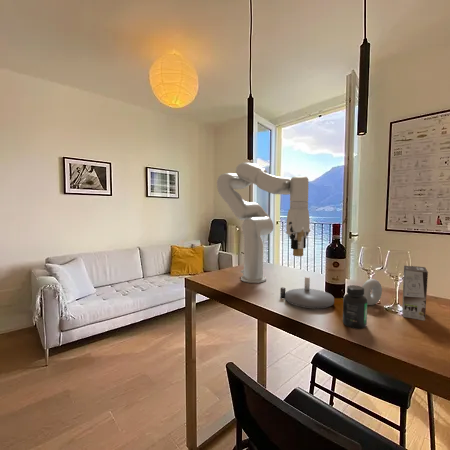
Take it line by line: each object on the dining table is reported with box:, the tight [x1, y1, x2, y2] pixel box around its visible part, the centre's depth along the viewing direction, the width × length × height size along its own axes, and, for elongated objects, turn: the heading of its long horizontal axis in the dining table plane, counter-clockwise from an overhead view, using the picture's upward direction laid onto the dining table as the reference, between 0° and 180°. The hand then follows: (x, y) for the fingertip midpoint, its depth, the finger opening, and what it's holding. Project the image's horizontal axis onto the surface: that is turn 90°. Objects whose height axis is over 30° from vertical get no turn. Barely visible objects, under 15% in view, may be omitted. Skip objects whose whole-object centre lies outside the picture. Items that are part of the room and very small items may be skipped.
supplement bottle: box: [342, 284, 368, 330], centre depth 87 cm, size 7×7×12 cm
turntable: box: [284, 276, 335, 309], centre depth 107 cm, size 20×18×6 cm
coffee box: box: [401, 265, 429, 321], centre depth 94 cm, size 9×6×16 cm
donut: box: [361, 278, 383, 306], centre depth 103 cm, size 10×4×10 cm, turn 117°
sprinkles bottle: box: [292, 227, 305, 257], centre depth 118 cm, size 5×5×14 cm
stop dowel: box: [279, 287, 287, 300], centre depth 112 cm, size 2×2×4 cm
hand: (298, 247), depth 119 cm, fingers closed on sprinkles bottle, 4 cm apart
